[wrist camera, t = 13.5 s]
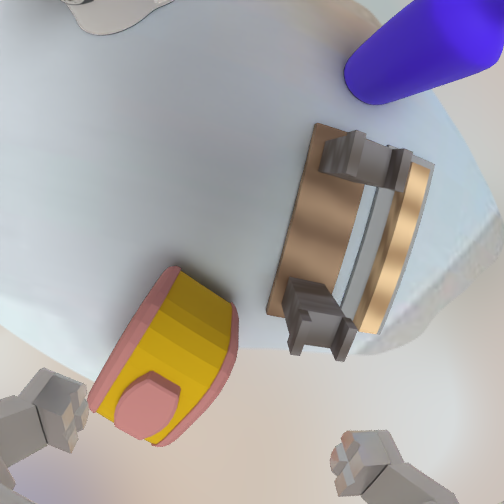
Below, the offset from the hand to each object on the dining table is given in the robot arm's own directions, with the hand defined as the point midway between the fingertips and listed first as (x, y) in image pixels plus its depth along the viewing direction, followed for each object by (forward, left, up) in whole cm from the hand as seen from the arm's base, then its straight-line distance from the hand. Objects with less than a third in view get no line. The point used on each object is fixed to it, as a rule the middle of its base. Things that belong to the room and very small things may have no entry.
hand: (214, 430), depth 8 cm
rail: (-2, +21, -33) cm, 39 cm away
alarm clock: (+16, -5, -34) cm, 38 cm away
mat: (-2, +21, -34) cm, 40 cm away
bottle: (-24, +13, -34) cm, 44 cm away
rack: (-2, +11, -34) cm, 36 cm away
